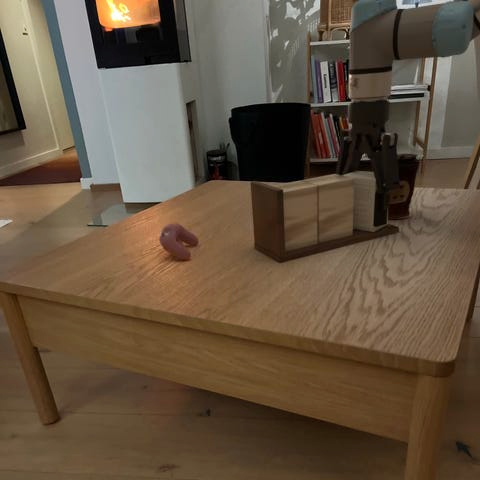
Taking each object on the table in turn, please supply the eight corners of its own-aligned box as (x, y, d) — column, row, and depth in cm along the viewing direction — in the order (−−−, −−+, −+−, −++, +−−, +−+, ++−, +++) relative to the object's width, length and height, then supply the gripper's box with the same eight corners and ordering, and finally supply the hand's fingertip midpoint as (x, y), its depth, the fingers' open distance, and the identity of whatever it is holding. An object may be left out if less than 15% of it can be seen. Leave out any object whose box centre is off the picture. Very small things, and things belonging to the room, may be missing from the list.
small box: (387, 225, 97) (391, 173, 92) (373, 233, 94) (376, 178, 89) (354, 220, 102) (355, 170, 97) (339, 227, 99) (340, 175, 94)
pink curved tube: (183, 251, 100) (164, 223, 98) (201, 241, 99) (182, 212, 96) (172, 269, 92) (151, 238, 89) (192, 258, 90) (171, 227, 88)
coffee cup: (409, 223, 101) (415, 159, 95) (370, 220, 105) (373, 159, 99) (418, 212, 107) (424, 151, 101) (381, 209, 111) (384, 151, 105)
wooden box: (399, 231, 96) (404, 165, 90) (279, 262, 86) (276, 190, 80) (366, 221, 104) (369, 159, 98) (254, 248, 94) (249, 181, 88)
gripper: (317, 100, 94) (317, 212, 105) (395, 102, 77) (385, 236, 87) (348, 97, 97) (345, 206, 108) (430, 97, 79) (417, 228, 90)
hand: (363, 219), depth 97 cm, fingers closed on small box, 9 cm apart
